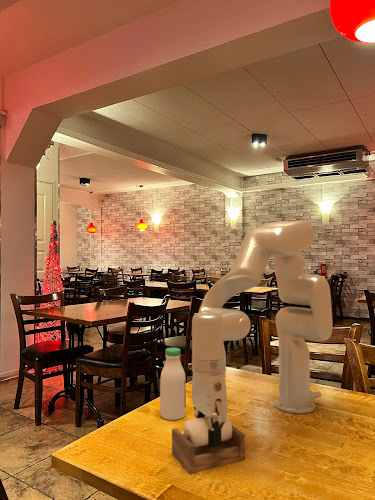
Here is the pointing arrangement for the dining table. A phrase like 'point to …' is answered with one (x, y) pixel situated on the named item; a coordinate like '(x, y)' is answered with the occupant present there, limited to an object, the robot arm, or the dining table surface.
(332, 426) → the dining table surface
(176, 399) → the milk bottle
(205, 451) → the cradle
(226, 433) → the roll
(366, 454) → the dining table surface
